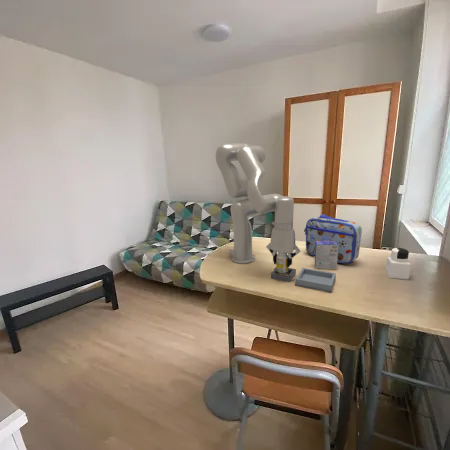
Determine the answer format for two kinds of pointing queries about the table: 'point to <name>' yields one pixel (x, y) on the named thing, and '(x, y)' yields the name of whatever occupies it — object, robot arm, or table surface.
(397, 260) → the medicine bottle
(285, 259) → the supplement bottle
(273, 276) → the collar
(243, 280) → the table surface
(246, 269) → the table surface
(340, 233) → the lunch box
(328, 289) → the tray
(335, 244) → the ink cartridge box
